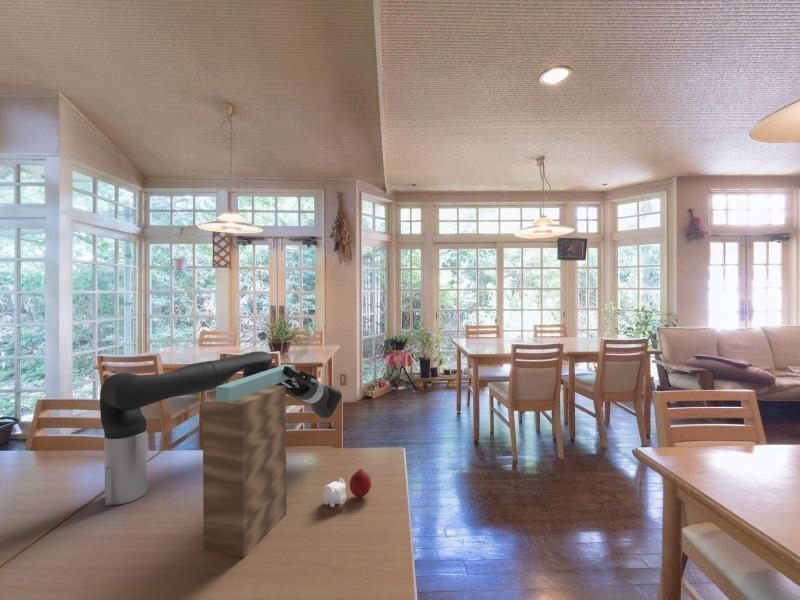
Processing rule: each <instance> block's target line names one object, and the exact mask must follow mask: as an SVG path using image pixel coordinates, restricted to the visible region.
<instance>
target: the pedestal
mask: <svg viewBox="0 0 800 600" xmlns="http://www.w3.org/2000/svg"><path fill="white" fill-rule="evenodd" d="M202 485H203V487H202V493H203V495H202V496H203V497H202V501H203V502H202V503H203V504H202V507H203V509H202V510H203V511H202V512H203V515H202V516H203V523H202V524H203V525H202V526H203V527H202V529H203V551H207V550H208V551H207V552H213V553H217V554H221V553H223V554H222V555H226V554H229V555H228V556H231V555H232V556H231V557H236V556H238V557H237V558H240V557H243V558H242V559H245V557H246V556H247V555H248V554H249V553H250V552H251V551H252V550H253V549H254V548H255V547H256V546H257V545H258V544H259V543H260V542H261V541H262V540H263V539H264V538H265V537H266V536H267V535H268V534H269V533H270V532H271V530H272V529H274V528H275V526H276V525H277V524H278V523H279V522H280V521H281V520H282V519H283V518H284V517H285V516H286V515H287V394H286V386H279V385H273V386H270V387H268V388H265V389H263V390H260V391H258V392H255V393H253V394H250V395H248V396H245V397H243V398H240V399H238V400H235V401H233V402H230V403H224V402H216V396H212V397H210V398H207V399H204V400H202Z"/></svg>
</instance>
